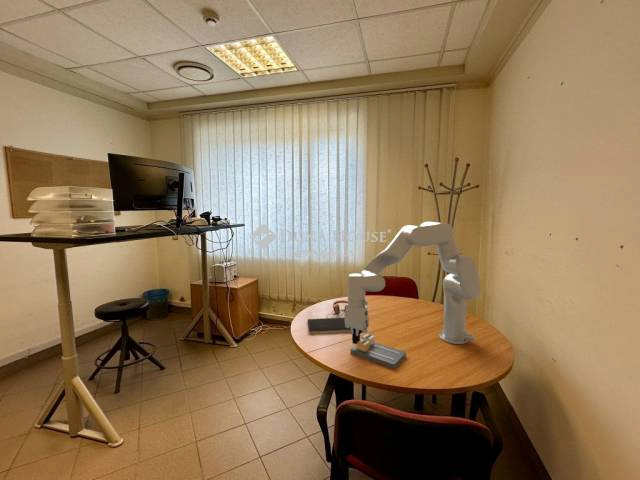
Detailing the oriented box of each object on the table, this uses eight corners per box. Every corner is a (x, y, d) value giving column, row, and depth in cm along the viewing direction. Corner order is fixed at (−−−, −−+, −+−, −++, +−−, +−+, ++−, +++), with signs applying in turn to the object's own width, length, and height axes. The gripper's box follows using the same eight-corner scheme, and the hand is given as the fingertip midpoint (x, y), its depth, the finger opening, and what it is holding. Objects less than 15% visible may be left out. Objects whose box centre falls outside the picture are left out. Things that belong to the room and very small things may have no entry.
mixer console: (405, 356, 120) (405, 351, 120) (394, 369, 111) (394, 364, 111) (364, 343, 132) (364, 338, 132) (350, 353, 123) (350, 348, 123)
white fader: (374, 342, 128) (374, 334, 127) (370, 345, 125) (370, 337, 124) (366, 339, 130) (366, 332, 130) (362, 343, 127) (362, 335, 127)
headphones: (325, 315, 160) (329, 297, 179) (325, 323, 162) (329, 304, 180) (355, 317, 158) (356, 298, 176) (355, 325, 159) (356, 305, 178)
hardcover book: (354, 333, 144) (354, 328, 144) (309, 335, 142) (309, 331, 142) (348, 320, 160) (348, 317, 160) (307, 322, 158) (307, 318, 158)
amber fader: (369, 348, 123) (369, 340, 122) (365, 351, 119) (365, 343, 119) (361, 345, 125) (361, 337, 125) (357, 349, 122) (357, 341, 121)
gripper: (376, 303, 121) (375, 344, 123) (346, 296, 130) (346, 335, 132) (367, 308, 115) (366, 351, 117) (337, 301, 124) (337, 341, 126)
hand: (356, 342), depth 124 cm, fingers closed
